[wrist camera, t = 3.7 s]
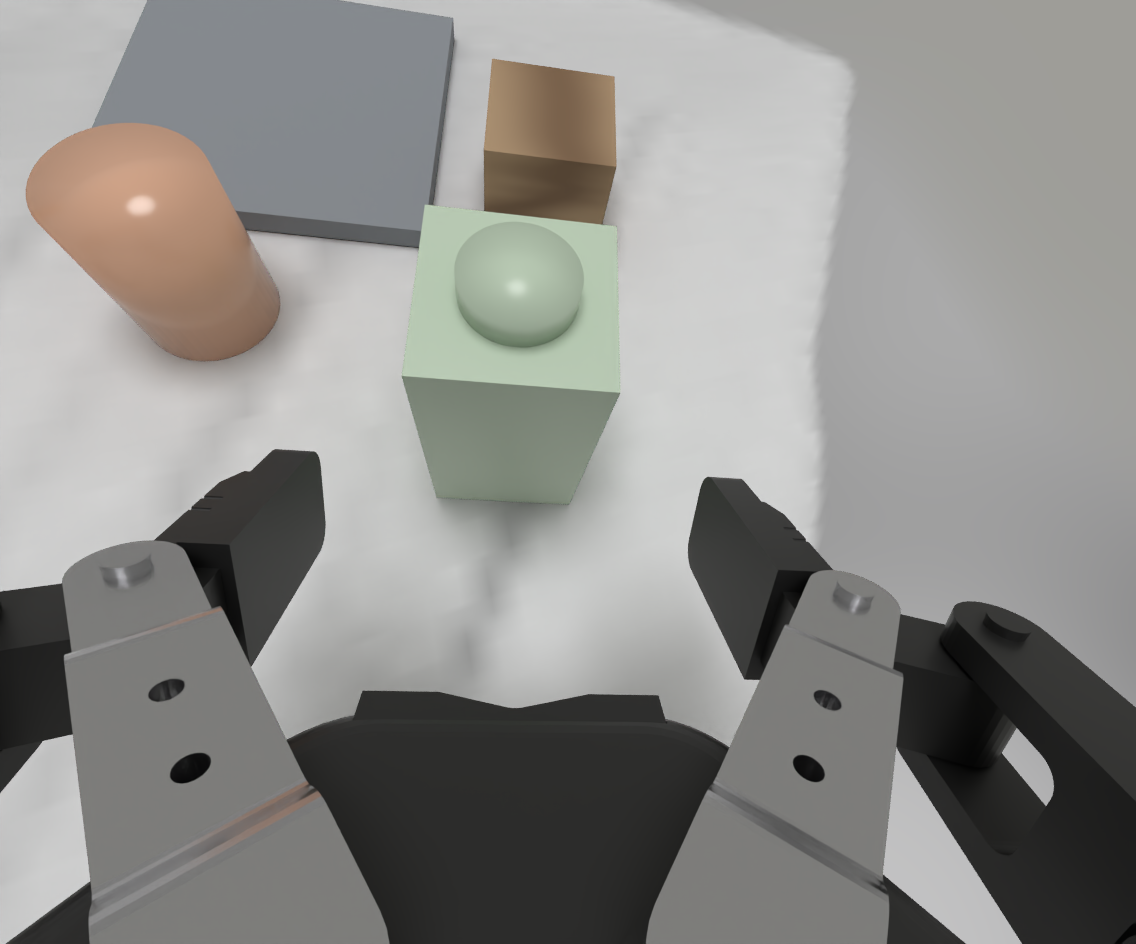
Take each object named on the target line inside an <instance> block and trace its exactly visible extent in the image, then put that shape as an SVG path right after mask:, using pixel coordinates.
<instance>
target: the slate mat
mask: <svg viewBox="0 0 1136 944" xmlns="http://www.w3.org/2000/svg"><path fill="white" fill-rule="evenodd" d="M453 44H454V26H453V18H450V17H444V16H437V15H431V14H424V13H418V12H411V11H405V10H398V9H392V8H385V7H379V6H372V5H366V4H359V3H353V2H347V1H340V0H147V3H146V5H145V7H144V10H143V12H142V14H141V16H140V19H139V21H138V23H137V26H136V28H135V30H134V32H133V35H132V37H131V39H130V42H129V44H128V46H127V48H126V51H125V53H124V55H123V58H122V60H121V62H120V64H119V67H118V69H117V71H116V74H115V76H114V78H113V80H112V83H111V85H110V87H109V90H108V92H107V94H106V96H105V99H104V101H103V103H102V106H101V108H100V110H99V112H98V115H97V117H96V119H95V122H94V124H93V126H92V128H94V127H98V126H102V125H108V124H116V123H142V124H150V125H156V126H160V127H163V128H167V129H170V130H172V131H175V132H177V133H179V134H181V135H183V136H185V137H186V138H188V139H189V140H191V141H192V142H194V143H195V144H196V145H197V146H198V147H199V148H200V149H201V150H202V152H203V153H204V154H205V156H206V157H207V159H208V161H209V163H210V164H211V166H212V168H213V170H214V172H215V174H216V176H217V177H218V179H219V181H220V183H221V185H222V187H223V189H224V190H225V192H226V194H227V196H228V198H229V200H230V202H231V203H232V205H233V207H234V209H235V211H236V213H237V215H238V216H239V218H240V220H241V222H242V224H243V226H244V228H245V229H249V230H258V231H268V232H277V233H287V234H297V235H306V236H316V237H325V238H335V239H344V240H354V241H363V242H373V243H382V244H392V245H401V246H411V247H419V244H420V237H421V229H422V222H423V215H424V207H425V205H433V199H434V191H435V184H436V176H437V168H438V160H439V153H440V145H441V137H442V129H443V122H444V114H445V106H446V98H447V91H448V83H449V75H450V67H451V60H452V52H453Z"/></svg>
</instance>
